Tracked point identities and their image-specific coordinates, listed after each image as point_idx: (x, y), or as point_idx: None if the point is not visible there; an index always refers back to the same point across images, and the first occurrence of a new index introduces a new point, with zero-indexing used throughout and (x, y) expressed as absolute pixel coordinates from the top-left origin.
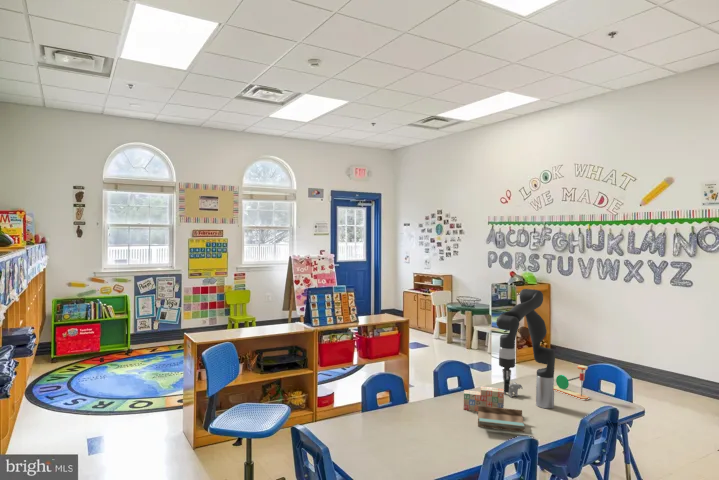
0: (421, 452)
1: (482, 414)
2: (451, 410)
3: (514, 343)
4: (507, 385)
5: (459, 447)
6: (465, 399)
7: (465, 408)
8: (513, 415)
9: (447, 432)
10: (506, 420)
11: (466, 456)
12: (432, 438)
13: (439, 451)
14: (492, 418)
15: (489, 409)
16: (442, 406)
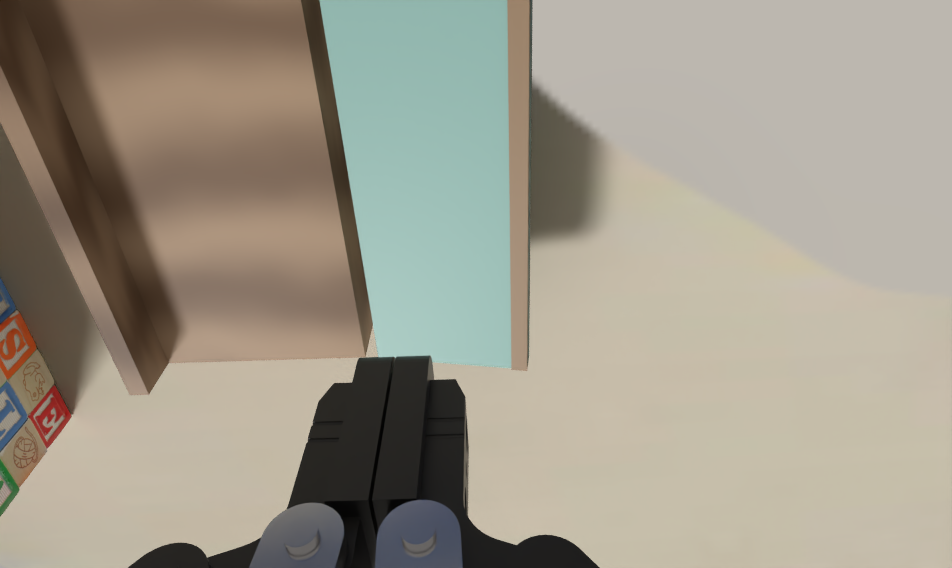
0: (868, 540)
1: (241, 329)
2: (153, 476)
3: None
4: (467, 522)
5: (791, 399)
6: (15, 475)
7: (60, 412)
8: (57, 23)
9: (563, 468)
10: (281, 112)
11: (931, 357)
12: (675, 520)
13: (855, 479)
14: (297, 248)
15: (119, 291)
16: (116, 522)
